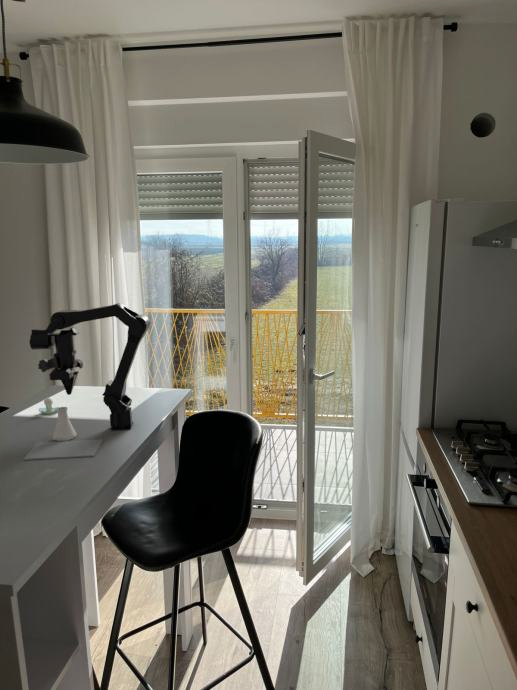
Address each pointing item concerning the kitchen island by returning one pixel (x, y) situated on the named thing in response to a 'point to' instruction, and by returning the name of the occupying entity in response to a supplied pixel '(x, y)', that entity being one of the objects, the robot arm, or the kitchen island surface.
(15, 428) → the kitchen island surface
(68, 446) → the mat
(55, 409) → the pacifier
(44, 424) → the kitchen island surface
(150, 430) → the kitchen island surface
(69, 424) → the flask
